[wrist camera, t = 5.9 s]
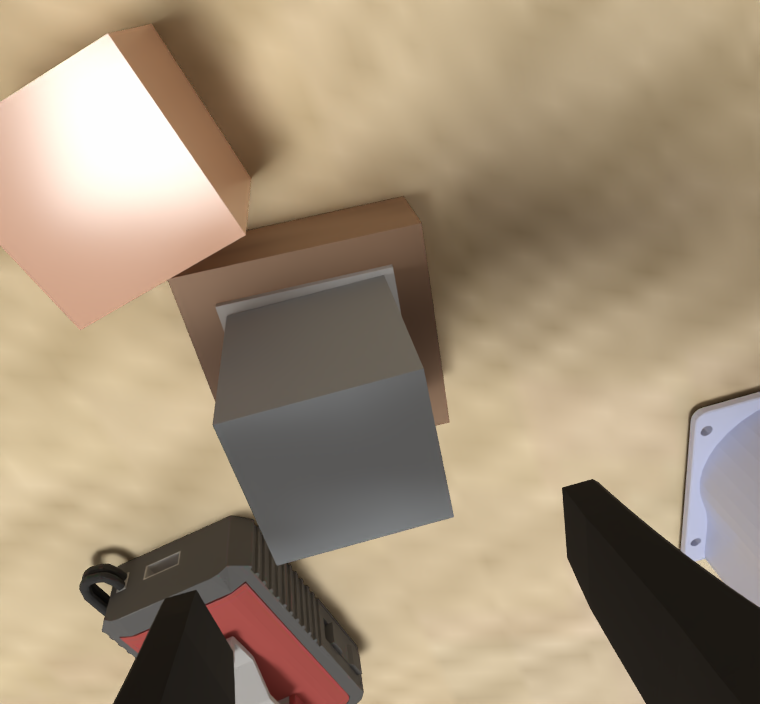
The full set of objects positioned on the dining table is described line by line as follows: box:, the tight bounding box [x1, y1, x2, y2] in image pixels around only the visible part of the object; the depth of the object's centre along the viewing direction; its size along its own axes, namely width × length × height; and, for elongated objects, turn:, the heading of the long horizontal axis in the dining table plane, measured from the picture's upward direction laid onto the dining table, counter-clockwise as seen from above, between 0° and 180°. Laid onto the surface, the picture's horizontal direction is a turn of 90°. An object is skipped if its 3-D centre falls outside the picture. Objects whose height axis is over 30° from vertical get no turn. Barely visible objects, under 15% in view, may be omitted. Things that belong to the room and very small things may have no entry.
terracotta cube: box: [0, 24, 251, 330], centre depth 15 cm, size 4×4×5 cm
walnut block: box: [168, 196, 449, 426], centre depth 19 cm, size 7×7×3 cm
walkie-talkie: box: [79, 516, 364, 704], centre depth 27 cm, size 9×4×20 cm
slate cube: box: [213, 275, 454, 566], centre depth 16 cm, size 4×4×5 cm
